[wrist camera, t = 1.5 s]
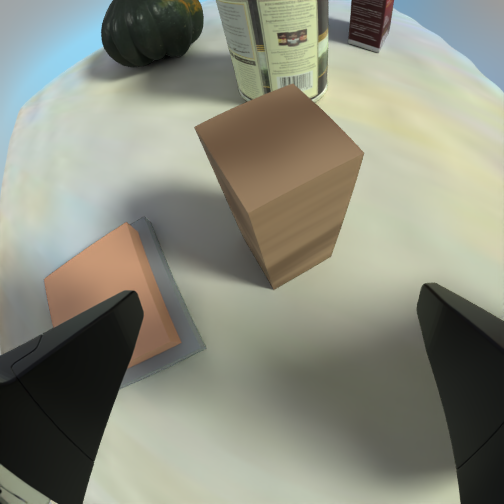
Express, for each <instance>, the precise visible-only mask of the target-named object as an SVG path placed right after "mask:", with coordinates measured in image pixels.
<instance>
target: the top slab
mask: <svg viewBox="0 0 504 504" xmlns="http://www.w3.org/2000/svg"><path fill="white" fill-rule="evenodd" d="M44 282H45V288H46V294H47V300H48V305H49V310H50V314H51V319H52V323H53V328H54V327H56V326H58V325H60V324H61V323H63V322H65V321H67V320H69V319H71V318H73V317H74V316H76V315H78V314H80V313H82V312H84V311H86V310H88V309H89V308H91V307H93V306H95V305H97V304H99V303H101V302H103V301H105V300H106V299H108V298H110V297H112V296H114V295H116V294H118V293H120V292H122V291H124V290H134V291H136V292H137V293H138V296H139V299H140V302H141V305H142V308H143V311H144V318H143V321H142V325H141V328H140V331H139V335H138V338H137V342H136V345H135V349H134V352H133V355H132V358H131V360H130V363H129V365H128V368H130V367H132V366H134V365H137V364H139V363H141V362H143V361H145V360H147V359H149V358H151V357H154V356H156V355H158V354H160V353H162V352H164V351H166V350H168V349H170V348H172V347H174V346H176V345H178V344H180V343H182V342H181V340H180V338H179V336H178V333H177V331H176V329H175V327H174V324H173V322H172V320H171V317H170V315H169V312H168V310H167V308H166V305H165V303H164V300H163V298H162V295H161V293H160V290H159V288H158V285H157V283H156V280H155V278H154V275H153V272H152V270H151V267H150V264H149V262H148V259H147V256H146V253H145V251H144V248H143V245H142V242H141V239H140V236H139V233H138V231H136V230H135V229H134V228H133V227H132V226H131V225H129V224H128V223H127V222H126V223H124V224H123V225H121V226H119V227H118V228H116V229H115V230H113V231H112V232H110V233H109V234H107V235H106V236H104V237H103V238H101V239H100V240H98V241H97V242H95V243H94V244H92V245H91V246H89V247H88V248H86V249H85V250H83V251H82V252H81V253H79V254H78V255H76V256H75V257H73V258H72V259H71V260H69V261H68V262H66V263H65V264H64V265H62V266H61V267H60V268H58V269H57V270H56V271H54V272H53V273H52V274H50V275H49V276H48V277H46V278H45V279H44ZM128 368H127V369H128Z"/></svg>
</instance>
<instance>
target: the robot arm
mask: <svg viewBox="0 0 504 504" xmlns="http://www.w3.org/2000/svg"><path fill="white" fill-rule="evenodd" d="M417 315H418V319H419V323H420V327H421V331H422V335H423V339H424V343H425V348H426V352H427V355H428V358H429V361H430V364H431V367H432V371H433V374H434V377H435V380H436V384H437V387H438V390H439V394H440V398H441V401H442V405H443V409H444V413H445V417H446V421H447V425H448V429H449V434H450V438H451V443H452V448H453V453H454V458H455V464H456V469H457V478H458V485H459V493H460V502H461V504H504V321H502V320H501V319H499V318H497V317H496V316H494V315H492V314H491V313H489V312H487V311H485V310H484V309H482V308H480V307H478V306H477V305H475V304H473V303H471V302H470V301H468V300H466V299H464V298H462V297H461V296H459V295H457V294H455V293H453V292H451V291H450V290H448V289H446V288H444V287H442V286H440V285H438V284H437V283H424V284H423V285H422V287H421V291H420V295H419V299H418V303H417ZM143 318H144V311H143V308H142V305H141V302H140V299H139V296H138V293H137V292H136V291H134V290H124V291H122V292H120V293H118V294H116V295H114V296H112V297H110V298H108V299H106V300H105V301H103V302H101V303H99V304H97V305H95V306H93V307H91V308H89V309H88V310H86V311H84V312H82V313H80V314H78V315H76V316H74V317H73V318H71V319H69V320H67V321H65V322H63V323H61V324H60V325H58V326H56V327H54V328H52V329H50V330H49V331H47V332H45V333H43V335H42V334H41V335H39V336H38V337H36V338H34V339H32V340H30V341H28V342H26V343H25V344H23V345H21V346H19V347H17V348H15V349H13V350H11V351H9V352H7V353H5V354H2V355H0V504H49V502H50V500H53V501H54V502H56V503H58V504H83V500H84V496H85V493H86V489H87V485H88V482H89V478H90V475H91V472H92V468H93V465H94V461H95V458H96V455H97V452H98V449H99V445H100V442H101V439H102V436H103V433H104V430H105V428H106V425H107V422H108V419H109V416H110V413H111V410H112V408H113V405H114V402H115V399H116V397H117V394H118V391H119V389H120V386H121V383H122V381H123V378H124V376H125V373H126V371H127V368H128V365H129V363H130V360H131V358H132V355H133V352H134V349H135V345H136V342H137V338H138V335H139V331H140V328H141V325H142V321H143Z"/></svg>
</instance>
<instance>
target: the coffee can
mask: <svg viewBox="0 0 504 504" xmlns="http://www.w3.org/2000/svg"><path fill="white" fill-rule="evenodd" d="M216 3H217V6H218V10H219V14H220V17H221V21H222V25H223V29H224V32H225V36H226V40H227V44H228V48H229V51H230V55H231V59H232V63H233V67H234V71H235V75H236V79H237V83H238V90H239V93H240V95H241V96H242V97H243V99H244V100H246V101H247V102H248V101H250V100H253V99H255V98H257V97H260V96H262V95H264V94H267V93H269V92H272V91H274V90H277V89H279V88H282V87H285V86H287V85H290V84H294V85H295V86H297V87H298V88H299V89H300V90H301V91H302V92H303V93H304V94H306V95H307V96H308V97H309V98H310V99H311V100H312V101H313V102H314V103H315V102H317V101H318V100H319V99H320V98H321V97H322V96H323V95H324V94H325V92H326V90H327V86H328V82H327V67H328V0H216Z"/></svg>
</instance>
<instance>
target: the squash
mask: <svg viewBox="0 0 504 504" xmlns="http://www.w3.org/2000/svg"><path fill="white" fill-rule="evenodd" d="M203 19H204V16H203V10H202V6H201V4H200V2H199V0H113V1H112V3H111V4H110V6H109V8H108V10H107V12H106V14H105V17H104V20H103V23H102V29H101V37H102V43H103V47H104V49H105V50H106V52H107V53H108V55H109V56H110V57H111V58H113V59H114V60H115V61H116V62H118V63H120V64H122V65H124V66H128V67H137V66H144V65H147V64H149V63H151V62H152V61H153V60H158V59H161V58H163V57H164V56H165V55H169V56H171V57H177V56H181V55H183V54H185V53H186V52H187V51H188V49H189V47H190V44H192V43H193V42H195V41H196V40H197V39H198V37H199V36H200V34H201V32H202V29H203Z"/></svg>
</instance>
